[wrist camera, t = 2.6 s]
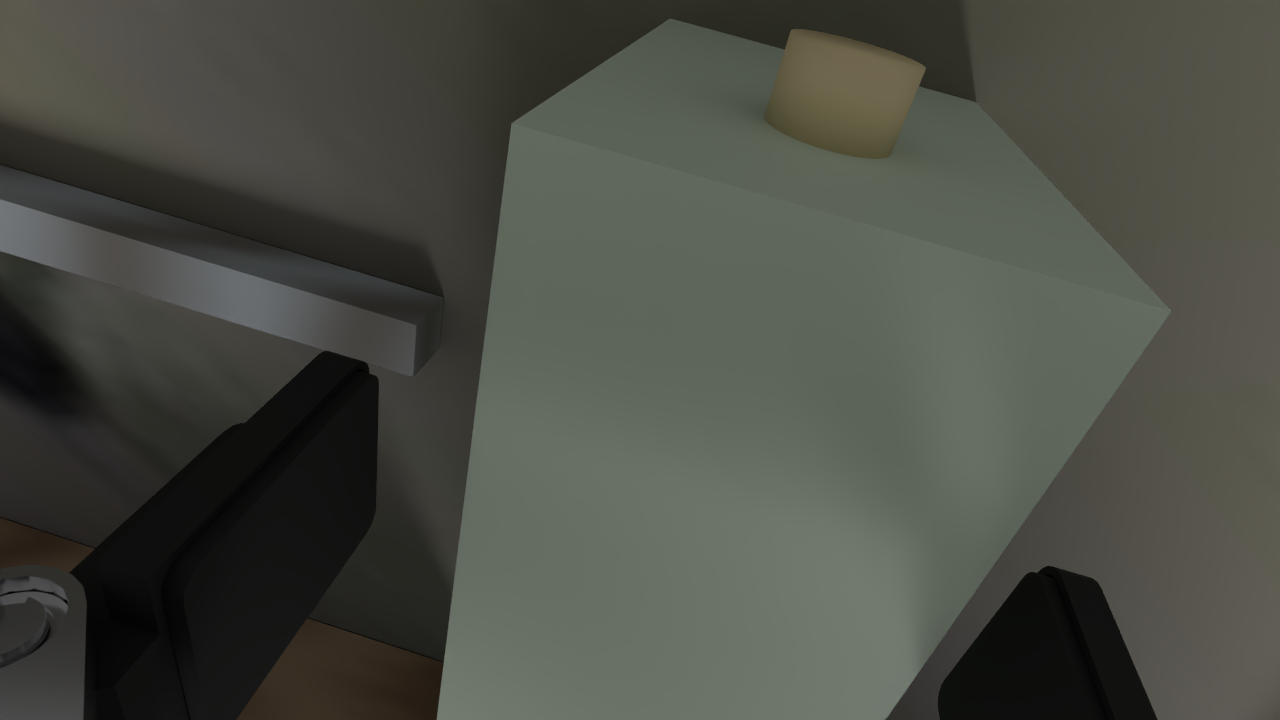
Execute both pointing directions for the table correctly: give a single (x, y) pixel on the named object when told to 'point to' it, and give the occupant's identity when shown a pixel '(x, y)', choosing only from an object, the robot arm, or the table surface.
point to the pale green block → (763, 384)
